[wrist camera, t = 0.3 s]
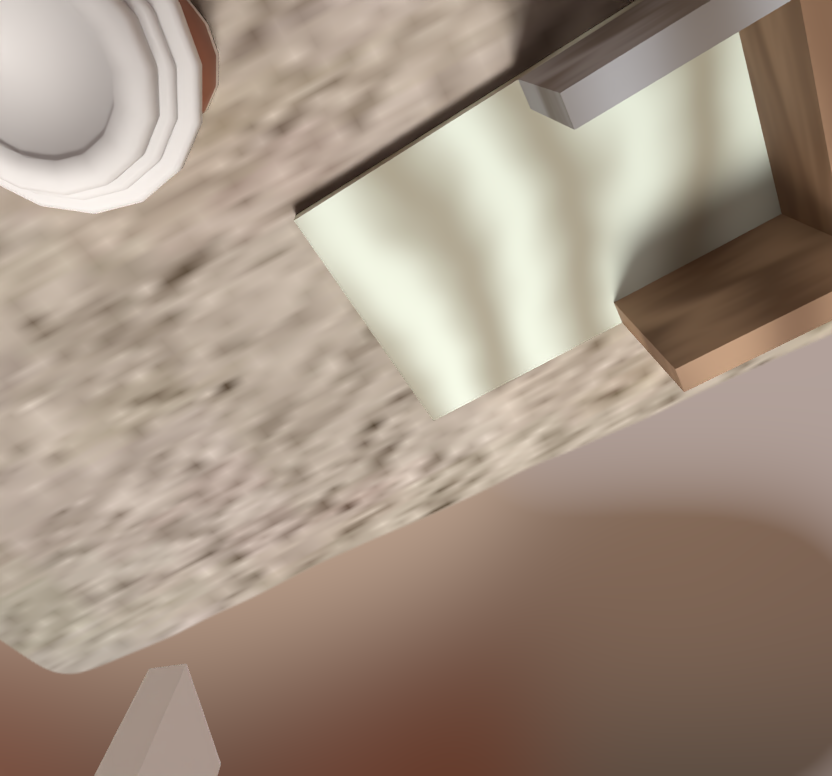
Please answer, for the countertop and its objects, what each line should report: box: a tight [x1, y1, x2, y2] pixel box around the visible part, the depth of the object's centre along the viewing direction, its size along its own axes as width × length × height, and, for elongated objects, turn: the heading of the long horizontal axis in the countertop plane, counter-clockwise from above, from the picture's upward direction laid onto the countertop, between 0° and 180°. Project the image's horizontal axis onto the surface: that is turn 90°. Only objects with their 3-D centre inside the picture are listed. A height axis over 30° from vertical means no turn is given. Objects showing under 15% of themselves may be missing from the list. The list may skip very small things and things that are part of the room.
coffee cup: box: [0, 0, 219, 214], centre depth 23 cm, size 9×9×12 cm
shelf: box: [294, 0, 832, 421], centre depth 29 cm, size 24×15×9 cm, turn 120°
